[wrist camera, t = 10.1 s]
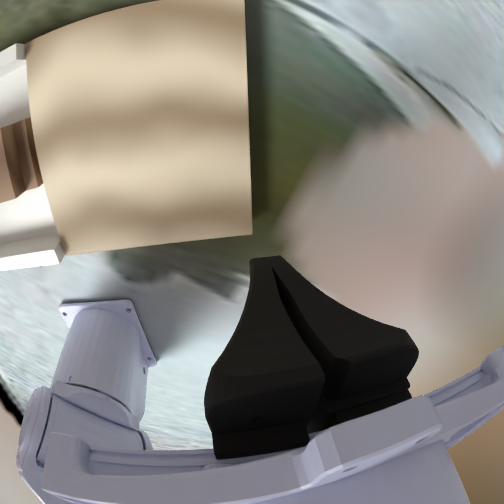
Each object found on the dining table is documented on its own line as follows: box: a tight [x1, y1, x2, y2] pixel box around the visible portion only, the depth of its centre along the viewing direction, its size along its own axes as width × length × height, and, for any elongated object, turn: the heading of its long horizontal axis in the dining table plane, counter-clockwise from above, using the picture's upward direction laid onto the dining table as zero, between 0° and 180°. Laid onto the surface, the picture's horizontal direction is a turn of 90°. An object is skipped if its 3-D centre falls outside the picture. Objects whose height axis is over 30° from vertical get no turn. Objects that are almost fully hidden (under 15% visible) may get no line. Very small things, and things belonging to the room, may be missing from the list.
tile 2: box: [13, 117, 43, 191], centre depth 14 cm, size 5×5×2 cm
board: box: [26, 0, 253, 256], centre depth 16 cm, size 16×14×2 cm
